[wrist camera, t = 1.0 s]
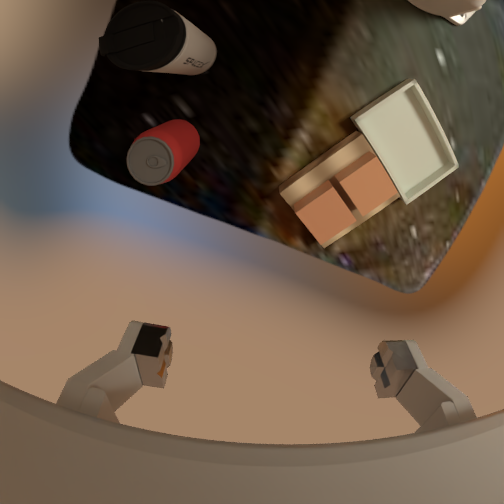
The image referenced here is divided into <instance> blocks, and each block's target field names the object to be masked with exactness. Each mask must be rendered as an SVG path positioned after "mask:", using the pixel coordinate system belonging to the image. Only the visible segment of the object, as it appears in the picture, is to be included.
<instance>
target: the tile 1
mask: <svg viewBox="0 0 504 504" xmlns="http://www.w3.org/2000/svg"><path fill="white" fill-rule="evenodd" d="M294 209H295V213H296V215H297V216H298V217H299V218H300V220H301V221H302V222H303V223H304V225H305V226H306V227H307V228H308V229H309V231H310V232H311V233H312V234H313V236H314V237H315V238H316V239H317V241H318V242H319V243H320V244H321V245H322V244H323V243H325V242H326V241H328V240H329V239H331V238H332V237H334V236H335V235H337V234H338V233H340V232H341V231H342V230H344V229H345V228H347V227H348V226H350V225H351V224H353V223H354V222H356V221H357V220H356V219H355V217H354V215H353V214H352V212H351V211H350V209H349V208H348V206H347V205H346V203H345V202H344V200H343V199H342V198H341V196H340V195H339V193H338V192H337V191H336V189H335V188H334V186H333V185H332V184H331V182H330V181H329V180H327V181H326V182H325V183H323V184H322V185H320V186H319V187H317V188H316V189H315V190H313V191H312V192H310V193H309V194H308V195H306V196H305V197H303V198H302V199H301V200H299V201H298V202H296V203H295V204H294Z"/></svg>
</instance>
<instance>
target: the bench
mask: <svg viewBox="0 0 504 504" xmlns="http://www.w3.org/2000/svg"><path fill="white" fill-rule="evenodd" d="M369 151H370V152H372V153H373V154H374V155H376V154H375V153H374V151H373V149H372V148H371V146H370V145H369V143H368V142H367V140H366V139H365V137H364V136H363V134H361V133H360V132H358V131H355V132H353V133H352V134H351V135H349V136H348V137H346V138H345V139H343V140H342V141H341V142H339V143H338V144H336V145H335V146H334V147H332V148H331V149H329V150H328V151H327V152H325V153H324V154H322V155H321V156H320V157H318V158H317V159H315V160H314V161H313V162H311V163H310V164H308V165H307V166H306V167H304V168H303V169H302V170H300V171H299V172H297V173H296V174H295V175H293V176H292V177H291V178H289V179H288V180H286V181H285V182H284V183H282V184H281V185H280V186H279V193H280V195H281V196H282V197H283V198H284V199H285V201H286V202H287V203H288V204H289V205H290V207H291V208H292V209H293V210H294V211H295V209H294V204H295V203H296V202H298V201H299V200H301V199H302V198H303V197H305V196H306V195H308V194H309V193H310V192H312V191H313V190H315V189H316V188H317V187H319V186H320V185H322V184H323V183H325V182H326V181H327V180H329V181H330V182H331V184H332V185H333V186H334V188H335V189H336V191H337V192H338V193H339V195H340V196H341V198H342V199H343V200H344V202H345V203H346V205H347V206H348V208H349V209H350V211H351V212H352V214H353V215H354V217H355V219H356V220H357V221H356V222H354V223H353V224H351V225H350V226H348V227H347V228H345V229H344V230H342V231H341V232H340V233H338V234H337V235H335V236H334V237H332V238H331V239H329V240H328V241H326V242H325V243H323V244H322V246H323V247H324V248H325V247H327V246H328V245H330V244H331V243H333V242H334V241H336V240H337V239H339V238H340V237H342V236H343V235H345V234H346V233H348V232H349V231H351V230H352V229H354V228H355V227H357V226H358V225H360V224H361V223H363V222H364V221H366V220H367V219H368V218H370V217H371V216H373V215H374V214H376V213H377V212H379V211H380V210H382V209H383V208H384V207H386V206H387V205H389V204H390V203H392V202H393V201H395V200H396V199H397V198H399V197H400V195H399V193H396V194H395V195H394V196H392V197H391V198H389V199H388V200H386V201H385V202H383V203H382V204H381V205H379V206H378V207H376V208H375V209H373V210H372V211H370V212H369V213H368V214H366V215H365V216H362V215H361V213H360V212H359V210H358V209H357V207H356V206H355V204H354V203H353V201H352V200H351V198H350V197H349V195H348V194H347V193H346V191H345V190H344V188H343V187H342V185H341V184H340V183H339V181H338V180H337V178H336V177H335V176H334V175H336V174H337V173H339V172H340V171H342V170H343V169H344V168H346V167H347V166H349V165H350V164H351V163H353V162H354V161H356V160H357V159H359V158H360V157H361V156H363V155H364V154H366V153H367V152H369ZM377 158H378V157H377ZM385 171H386V170H385ZM392 183H393V182H392ZM396 190H397V189H396Z"/></svg>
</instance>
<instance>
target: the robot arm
mask: <svg viewBox="0 0 504 504" xmlns="http://www.w3.org/2000/svg"><path fill="white" fill-rule="evenodd" d="M408 1H409V2H410V3H412V4H413V5H414V6H416V7H418V8H420V9H421V10H423V11H426V12H428V13H431V14H435V15H439V16H442V17H444V18H446V19H447V20H449V21H450V22H452V23H453V24H455V25H457V26H460V25H462V24H464V23H465V22H466V21H467V20H468V19H469V18H470V17H471V16H472V15H473V14H474V13H475V12H476V11H477V10H479V9H481V8H482V7H481V5H483V4H484V3H485V2H486V0H408ZM460 15H461V16H462V17H461V16H460ZM170 337H171V329H170V327H167V326H161V325H155V324H150V323H142V322H137V321H131V322H130V323H129V325H128V327H127V329H126V331H125V333H124V336H123V338H122V340H121V342H120V345H119V347H118V349H117V351H115V350H113V351H111V352H109V353H108V354H106V355H105V356H103V357H102V358H100V359H99V360H97V361H95V362H94V363H92V364H91V365H89V366H88V367H86V368H85V369H83V370H81V371H80V372H78V373H77V374H75V375H73V376H72V377H70V378H69V379H68V380H67V382H66V384H65V386H64V388H63V390H62V393H61V395H60V397H59V399H58V401H57V403H56V404H54V403H52V402H49V401H46V400H44V399H41V398H39V397H36V396H34V395H31V394H29V393H27V392H24V391H22V390H19V389H17V388H15V387H13V386H11V385H8V384H7V383H4V382H2V381H0V504H504V409H503V410H500V411H497V412H494V413H491V414H488V415H485V416H482V417H478V418H477V417H476V415H475V413H474V410H473V408H472V406H471V403H470V401H469V399H468V397H467V396H466V395H465V394H463V393H462V392H461V391H460V390H458V389H457V388H456V387H455V386H453V385H452V384H451V383H450V382H448V381H447V380H446V379H445V378H443V377H442V376H441V375H440V374H438V373H437V372H436V371H434V370H433V369H432V368H428V366H427V364H426V362H425V360H424V357H423V355H422V353H421V351H420V349H419V347H418V345H417V343H416V341H414V340H403V341H402V340H398V341H382V342H381V343H380V344H379V346H378V350H379V352H377V353H376V354H375V355H374V356H373V358H372V360H371V364H370V372H371V375H372V377H373V378H374V379H375V380H376V383H375V385H374V386H375V389H376V392H377V396H378V398H389V397H396V399H397V400H398V401H399V402H400V403H401V405H402V406H403V407H404V408H405V409H406V410H407V411H408V412H409V413H410V414H411V416H412V417H413V418H414V419H415V420H416V421H417V422H418V423H419V425H420V426H421V427H420V428H419V429H418V430H417V431H416V432H415V433H413V434H407V435H402V436H396V437H389V438H382V439H374V440H365V441H356V442H344V443H331V444H296V445H295V444H294V445H284V444H252V443H237V442H225V441H214V440H206V439H197V438H191V437H183V436H177V435H171V434H166V433H160V432H155V431H149V430H145V429H141V428H136V427H132V426H127V425H123V424H120V423H119V421H118V419H117V417H116V415H115V413H114V412H115V411H116V410H117V409H118V408H119V407H120V406H121V405H123V404H124V402H126V401H127V400H128V399H129V398H130V397H131V396H132V395H134V393H136V392H137V391H138V390H139V389H140V388H141V387H142V385H146V386H152V387H159V388H164V386H165V383H166V379H167V375H168V374H167V368H168V367H169V366H170V364H171V360H172V353H173V347H172V342H171V341H170Z"/></svg>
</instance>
